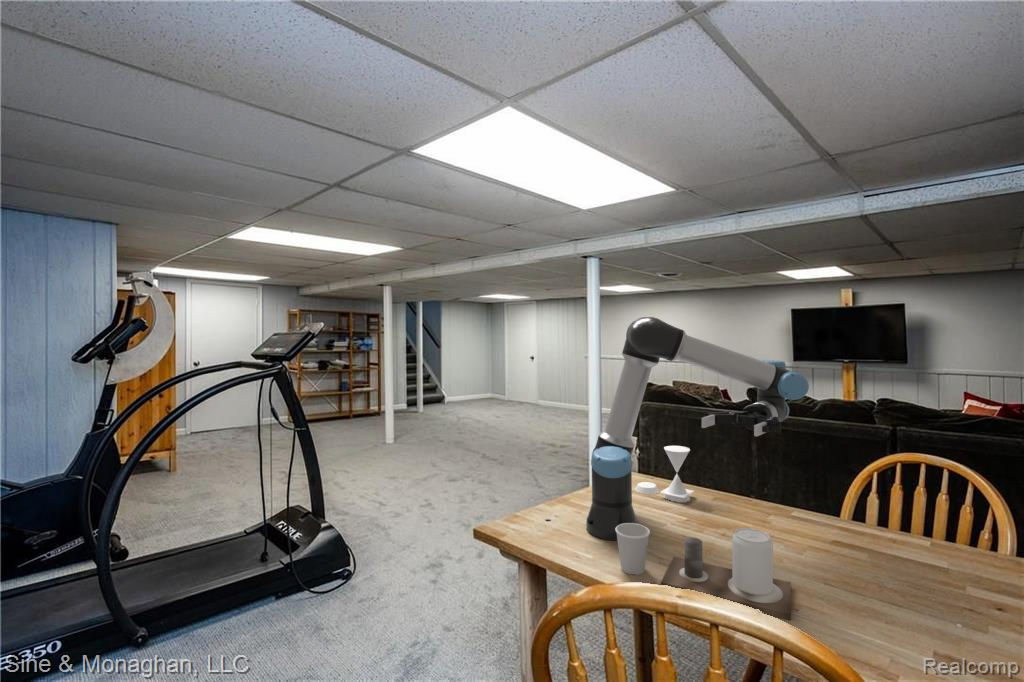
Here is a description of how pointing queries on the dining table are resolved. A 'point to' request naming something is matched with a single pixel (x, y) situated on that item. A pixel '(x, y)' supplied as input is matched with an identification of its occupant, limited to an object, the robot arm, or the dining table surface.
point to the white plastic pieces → (676, 488)
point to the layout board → (723, 582)
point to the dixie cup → (632, 547)
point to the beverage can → (752, 561)
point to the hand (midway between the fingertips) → (728, 426)
